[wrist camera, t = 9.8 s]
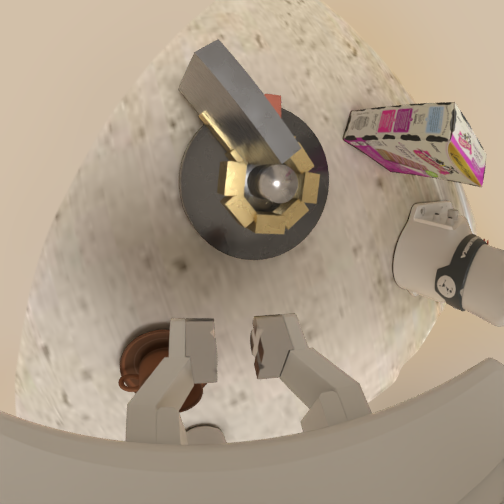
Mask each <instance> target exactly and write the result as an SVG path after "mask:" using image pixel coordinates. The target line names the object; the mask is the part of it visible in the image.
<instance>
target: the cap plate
mask: <svg viewBox="0 0 504 504" xmlns="http://www.w3.org/2000/svg"><path fill="white" fill-rule="evenodd" d="M265 97H266V98H267V99H268V101H269V102H270V103H271V105H272V106H273V108H274V109H275V110H276V112H277V113H278V114H279V116H280V117H281V119H282V120H283V122H284V123H285V124H286V126H287V127H288V129H289V130H290V132H291V133H292V135H293V136H296V140H297V142H299V143H300V144H301V146H302V147H303V149H304V150H305V152H306V153H307V155H308V157H309V158H310V160H311V161H312V163H313V164H314V167H313V168H312V169H311V170H309V171H308V172H310V173H315V174H320V179H319V188H318V196H317V203H316V204H314V203H305V202H304V203H305V205H306V206H307V208H308V209H309V211H308V212H307V213H306V214H305V215H304V216H302V217H301V218H300V219H299V220H298V221H297V222H296V223H295V224H294V225H293V226H292V227H291V228H290V229H289V230H288V229H286V228H285V232H284V234H261V233H254V232H252V231H251V230H249V229H247V228H244V227H242V226H241V225H239V224H238V223H237V222H236V221H235V219H234V218H233V217H232V216H231V215H230V213H229V212H228V211H227V210H226V209H225V207H224V206H223V205H222V204H221V203H220V201H221V200H222V199H223V198H224V197H225V195H221V194H218V193H217V188H218V178H219V168H220V162H223V161H230V160H229V159H228V158H227V157H226V155H225V153H226V152H227V151H226V150H225V149H224V147H223V146H222V145H221V144H220V142H219V141H218V140H217V139H216V137H215V136H214V135H213V134H212V132H211V131H210V130H209V129H208V128H207V126H206V125H204V126H202V127H201V129H200V130H199V131H198V132H197V133H196V134H195V135H194V137H193V138H192V140H191V141H190V143H189V145H188V147H187V149H186V151H185V153H184V156H183V159H182V162H181V167H180V173H179V189H180V197H181V201H182V205H183V207H184V210H185V212H186V215H187V217H188V218H189V220H190V222H191V224H192V225H193V226H194V228H195V229H196V230H197V232H198V233H199V234H200V235H201V236H202V237H203V238H204V239H205V240H206V241H207V242H208V243H209V244H210V245H212V246H213V247H215V248H216V249H217V250H219V251H221V252H223V253H225V254H227V255H230V256H233V257H236V258H241V259H248V260H260V259H267V258H272V257H275V256H278V255H281V254H283V253H285V252H287V251H289V250H290V249H292V248H294V247H295V246H297V245H298V244H299V243H300V242H301V241H303V240H304V239H305V238H306V237H307V235H308V234H309V233H310V232H311V231H312V229H313V228H314V227H315V225H316V224H317V222H318V220H319V218H320V216H321V214H322V212H323V210H324V206H325V203H326V200H327V195H328V187H329V172H328V165H327V161H326V157H325V154H324V151H323V149H322V146H321V144H320V142H319V140H318V139H317V137H316V136H315V134H314V133H313V131H312V130H311V129H310V128H309V127H308V126H307V125H306V123H304V122H303V121H302V120H301V119H300V118H299V117H297V116H295V115H294V114H292V113H291V112H289V111H287V110H285V109H283V108H281V96H279V95H272V94H265ZM297 188H298V179H297V176H296V174H295V172H294V171H293V170H292V169H291V168H290V167H288V166H286V164H285V163H283V164H262V165H247V169H246V178H245V188H244V197H245V199H246V200H247V201H248V202H249V204H250V205H251V206H252V207H253V209H254V210H255V211H264V212H273V211H274V210H275V209H276V208H277V207H278V206H280V205H281V204H282V203H285V202H288V201H289V200H291V199H292V198H293V197H294V195H295V193H296V191H297Z"/></svg>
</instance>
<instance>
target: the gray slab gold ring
mask: <svg viewBox="0 0 504 504" xmlns="http://www.w3.org/2000/svg"><path fill="white" fill-rule="evenodd" d="M178 90H179V91H180V92H181V93H182V94H183V95H184V97H185V98H186V99H187V100H188V101H189V103H190V104H191V105H192V106H193V107H194V109H195V110H196V111H197V112H198V113H199V116H198V117H199V118H200V119H201V120H202V121H203V123H204V124H205V125H206V126H207V128H208V129H209V130H210V131H211V132H212V134H213V135H214V136H215V137H216V139H217V140H218V141H219V142H220V144H221V145H222V146H223V147H224V149H225V150H226V151H227V152H226V153H225V155H226V157H227V158H228V159H229V160H230V161H223V162H220V168H219V178H218V188H217V193H218V194H221V195H225V197H224V198H223V199H222V200H221V201H220V203H221V204H222V205H223V206H224V207H225V209H226V210H227V211H228V212H229V213H230V215H231V216H232V217H233V218H234V219H235V221H236V222H237V223H238V224H239V225H241V226H242V227H244V228H247V229H249V230H251V231H252V232H254V233H261V234H284V232H285V228H286V229H288V230H289V229H290V228H291V227H292V226H293V225H294V224H295V223H296V222H297V221H298V220H299V219H300V218H301V217H302V216H304V215H305V214H306V213H307V212H308V211H309V209H308V208H307V206H306V205H305V203H314V204H316V203H317V196H318V188H319V179H320V174H315V173H310V172H308V171H309V170H311V169H312V168H313V167H314V164H313V163H312V161H311V160H310V158H309V157H308V155H307V153H306V152H305V150H304V149H303V147H302V146H301V144H300V143H299V142H297V140H296V136H293V135H292V133H291V132H290V130H289V129H288V127H287V126H286V124H285V123H284V122H283V120H282V119H281V117H280V116H279V114H278V113H277V112H276V110H275V109H274V108H273V106H272V105H271V103H270V102H269V101H268V99H267V98H266V97H265V95H264V94H263V93H262V92H261V90H260V89H259V88H258V86H257V85H256V84H255V82H254V81H253V80H252V79H251V77H250V76H249V75H248V74H247V72H246V71H245V70H244V69H243V67H242V66H241V65H240V64H239V63H238V61H237V60H236V59H235V58H234V57H233V55H232V54H231V53H230V52H229V51H228V50H227V48H226V47H225V46H224V45H223V44H222V43H221V42H220V41H219V39H218V40H216V41H214V42H212V43H210V44H209V45H207V46H205V47H203V48H201V49H200V50H198V51H196V52H194V55H193V57H192V59H191V61H190V63H189V65H188V68H187V70H186V72H185V74H184V77H183V79H182V81H181V84H180V86H179V89H178ZM283 163H285V164H286V166H288V167H290V168H291V169H292V170H293V171H294V172H295V174H296V176H297V179H298V188H297V191H296V193H295V195H294V197H293V198H292V199H291V200H289V201H288V202H285V203H282V204H281V205H280V206H278V207H277V208H276V209H275V210H274V211H273V212H264V211H255V210H254V209H253V207H252V206H251V205H250V204H249V202H248V201H247V200H246V199H245V197H244V188H245V178H246V169H247V165H262V164H283ZM304 202H305V203H304Z"/></svg>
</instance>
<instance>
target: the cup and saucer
mask: <svg viewBox="0 0 504 504" xmlns="http://www.w3.org/2000/svg"><path fill="white" fill-rule="evenodd" d="M169 335H170V330H156V331H152V332H148V333H145V334H143V335H141V336H139V337H137V338H136V339H134V340H133V341H132V342H131V343H130V344H129V345H128V346H127V347H126V349H125V350H124V352H123V354H122V357H121V360H120V372H121V376H122V377H121V378H120V379H119V386H120V388H121V389H123V390H125V391H128V392H135V393H137V392H138V390H139V389H140V388H141V386H142V385H143V384H144V383H145V381H146V380H147V379H148V378H149V376H150V375H151V374H152V373H153V371H154V370H155V369H156V367H157V366H158V365H159V364H160V362H161V361H162V360H163V359H164V357H169ZM124 382H125V383H126V385H127V386H128V387H127V386H125V385H124ZM206 384H207V383H197V384H194V386H193V388H192V390H191V391H190V393H189V395H188V396H187V398H186V400H185V401H184V403H183V405H182V407H181V408H180V410H179V412H183V411H186V410H188V409H190V408H192V407H194V406H195V405H196V404H197V403H198V402H199V401H200V399H201V397H202V394H203V387H204V386H205V385H206Z"/></svg>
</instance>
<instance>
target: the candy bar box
mask: <svg viewBox="0 0 504 504" xmlns="http://www.w3.org/2000/svg"><path fill="white" fill-rule="evenodd" d="M343 140H344V141H346V142H348V143H349V144H351V145H353V146H354V147H356V148H357V149H359V150H360V151H362V152H363V153H365V154H366V155H368V156H369V157H371V158H372V159H374V160H375V161H377V162H378V163H379V164H381V165H382V166H384V167H385V168H386V169H388V170H389V171H390V172H396V173H404V174H411V175H418V176H425V177H432V178H438V179H443V180H448V181H453V182H458V183H464V184H469V185H473V186H478V187H482V184H483V179H484V173H485V164H486V153H485V151H484V149H483V147H482V146H481V144H480V142H479V141H478V139H477V137H476V135H475V134H474V132H473V130H472V128H471V127H470V125H469V123H468V122H467V120H466V118H465V117H464V116H463V114H462V112H461V111H460V109H459V108H458V106H457V105H456V103H455V102H452V103H451V102H449V103H424V104H409V105H399V106H387V107H379V108H371V109H364V110H357V111H351V114H350V117H349V121H348V125H347V127H346V131H345V134H344V138H343Z"/></svg>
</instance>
